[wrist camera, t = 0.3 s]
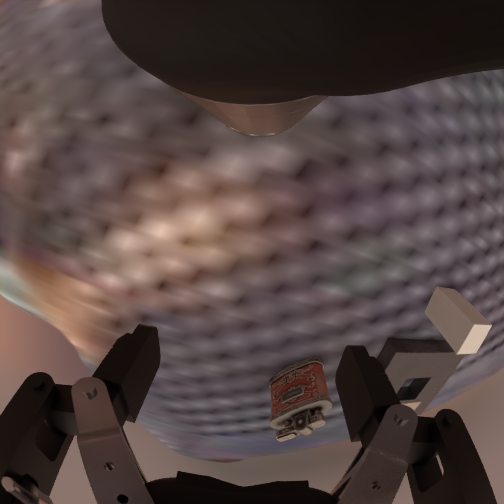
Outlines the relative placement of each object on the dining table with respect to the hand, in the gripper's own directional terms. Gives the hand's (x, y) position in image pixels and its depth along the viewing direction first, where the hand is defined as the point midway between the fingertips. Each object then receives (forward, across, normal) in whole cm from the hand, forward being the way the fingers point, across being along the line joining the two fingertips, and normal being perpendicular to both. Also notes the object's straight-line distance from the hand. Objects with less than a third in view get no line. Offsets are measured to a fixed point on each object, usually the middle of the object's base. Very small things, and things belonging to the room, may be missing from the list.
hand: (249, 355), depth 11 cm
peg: (+18, -25, +6) cm, 31 cm away
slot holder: (+18, -26, +20) cm, 37 cm away
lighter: (+18, -7, +18) cm, 27 cm away
